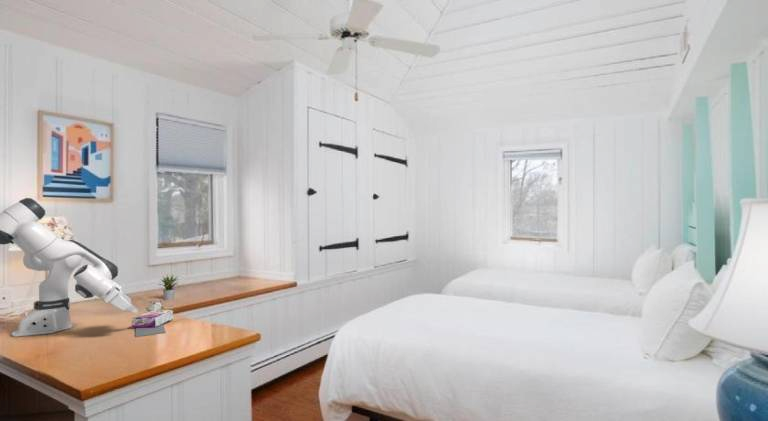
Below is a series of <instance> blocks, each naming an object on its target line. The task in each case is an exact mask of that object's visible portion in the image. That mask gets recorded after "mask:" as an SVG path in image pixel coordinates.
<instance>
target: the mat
mask: <svg viewBox="0 0 768 421" xmlns="http://www.w3.org/2000/svg"><path fill="white" fill-rule="evenodd" d="M161 334H166V329H165V326H164V323H163V324H161V325H159V326H157V327H147V328H135V338H139V337H146V336H153V335H154V336H155V335H161Z"/></svg>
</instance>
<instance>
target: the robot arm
mask: <svg viewBox="0 0 768 421" xmlns="http://www.w3.org/2000/svg"><path fill="white" fill-rule="evenodd" d="M45 215H46V210H45V208H44V206H43V204H41V203H40V202H39V201H38V200H35V199H34V198H30V197H25V198H22V199H20V200H19V201H18V202H16V203H14V204H12V205H11V206H8V207H7V208H5V209H3V211H2V212H0V245H9V244H12V245H14V244H15V245H16V246H17V247H18V248H19V249H20V250H22V252H23V253H24V255H23V258H22V262H23V265H24V267H25V268H26V269H29V270H32V271H38V272H39V271H41V272H42V271H43V272H45V271H46V272H48V275H47V277H46V278H45V279H43V281H41V282H40V283H39V285H38V300H35V301H34V303H33V310H32V311H30V312H29V313H27V315H25V316H24V317H22V319H20V320H19V323H18V325H17V326H18V327H17V329H16V330H14V331H12V333H11V337H13V338H15V337H27V336H37V335H45V334H53V333H58V332H60V331H64V330H68V329H70V328H73V327H74V325H73V322H72V319H71V315H70V307H71V306H70V304H71V303H70V297H69V282H70V281H69V280H70V278H71V276H72V274H73V272H74V271H75V269H76V268H78V267H79V266H80V265H81V263H82V260H83V259H85V260H86V261H87V262H89V263H91V264H93V265H91V264H85V265H82V266H81V267H80V268H79V269H77V270H76V271H75V273H74V274H73V279H74V280H75V281H76V283H75V286H74V290H75V293H77V294H79V295H80V296H81V297H83V298H85V299H90V298H91V299H92V298H94V297H97V298H98V299H100V300H102V301H103V302H104V303H106V304H110V305H112V306H114V307H115V308H117V309H118V310H120V311H121V312H126V311H128V310H129V311H130V312H132V313H133V314H137V313H138V312H139V309H138V308H137V307H136V306H135V305H133V304H132V298H131V297H129V296H128V295H126V293H124V291H123V290H122V288H123V287H122V286H121V285H120V284H118V283H117V282H116V281H114V280H115V278H116V277H117V276H118V274H119V267H118V266H117V265H116V264H115V263H113V262H112V261H110V260H108V259H106V258H104V257H102V256H101V255H100V254H99V253H96V252H95V251H94V250H92V249H90V248H89V247H87V246H86V245H83V244H82V243H80V242H78V241H76V240H74V239H68V240H65V239H63V238H61V237H60V236H58V234H56V233H55V232H53V231H52V230H51V229H50V228H49V227H46V226H45V225H44V224H43V223H40V222H39V221H41V220H42V219H43V218H44V216H45Z"/></svg>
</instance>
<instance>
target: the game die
mask: <svg viewBox="0 0 768 421" xmlns="http://www.w3.org/2000/svg"><path fill="white" fill-rule="evenodd" d="M145 310H146V311H147V312H150V311H158V310H166V308H164V306H163V305H162V300H160V301H154V302H153V301H151V300H150V301H149V305H148V306H147V308H145Z"/></svg>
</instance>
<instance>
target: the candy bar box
mask: <svg viewBox="0 0 768 421" xmlns="http://www.w3.org/2000/svg"><path fill="white" fill-rule="evenodd" d="M172 320H174V310H173V309H163V310H158V311H150V312H148V311H147V312H145V313H142V314H140V315H138V316H135V317H132V321H131V324H132V329H136V328H147V327H157V326H159V325H161V324H163V325H164V324H165V323H167V322H170V321H172Z"/></svg>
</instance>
